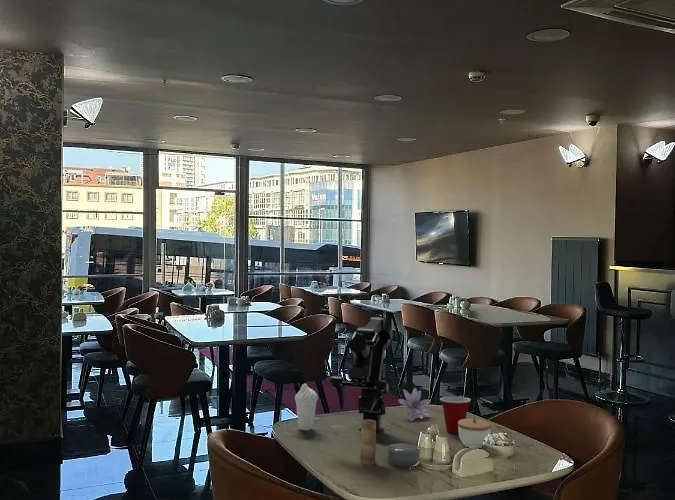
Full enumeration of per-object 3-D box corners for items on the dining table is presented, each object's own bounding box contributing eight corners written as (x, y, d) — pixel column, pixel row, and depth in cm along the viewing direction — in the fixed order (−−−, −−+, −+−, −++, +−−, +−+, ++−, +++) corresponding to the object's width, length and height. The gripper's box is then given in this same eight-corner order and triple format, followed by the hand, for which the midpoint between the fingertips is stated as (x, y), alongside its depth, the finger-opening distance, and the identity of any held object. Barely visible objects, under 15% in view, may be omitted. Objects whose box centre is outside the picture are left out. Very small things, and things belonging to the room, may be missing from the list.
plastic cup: (460, 426, 236) (461, 393, 236) (475, 434, 226) (476, 400, 225) (433, 428, 232) (434, 395, 232) (448, 437, 222) (449, 402, 222)
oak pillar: (366, 458, 198) (367, 418, 198) (378, 462, 195) (379, 421, 195) (357, 462, 195) (358, 421, 195) (369, 466, 192) (370, 424, 192)
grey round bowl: (398, 453, 203) (399, 441, 203) (425, 461, 197) (426, 448, 197) (380, 461, 196) (380, 448, 196) (407, 469, 189) (407, 456, 189)
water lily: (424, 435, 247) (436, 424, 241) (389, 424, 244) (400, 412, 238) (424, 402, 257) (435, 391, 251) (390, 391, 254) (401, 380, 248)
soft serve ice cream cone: (321, 427, 230) (322, 383, 230) (310, 433, 223) (311, 387, 222) (300, 424, 234) (301, 380, 233) (289, 430, 226) (290, 384, 226)
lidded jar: (453, 441, 218) (454, 413, 218) (484, 441, 219) (485, 413, 219) (462, 451, 207) (463, 422, 207) (494, 451, 208) (495, 422, 208)
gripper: (329, 353, 207) (321, 400, 199) (386, 357, 202) (380, 406, 194) (336, 365, 216) (329, 411, 208) (391, 369, 211) (385, 416, 203)
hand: (355, 411), depth 203 cm, fingers open, 9 cm apart
